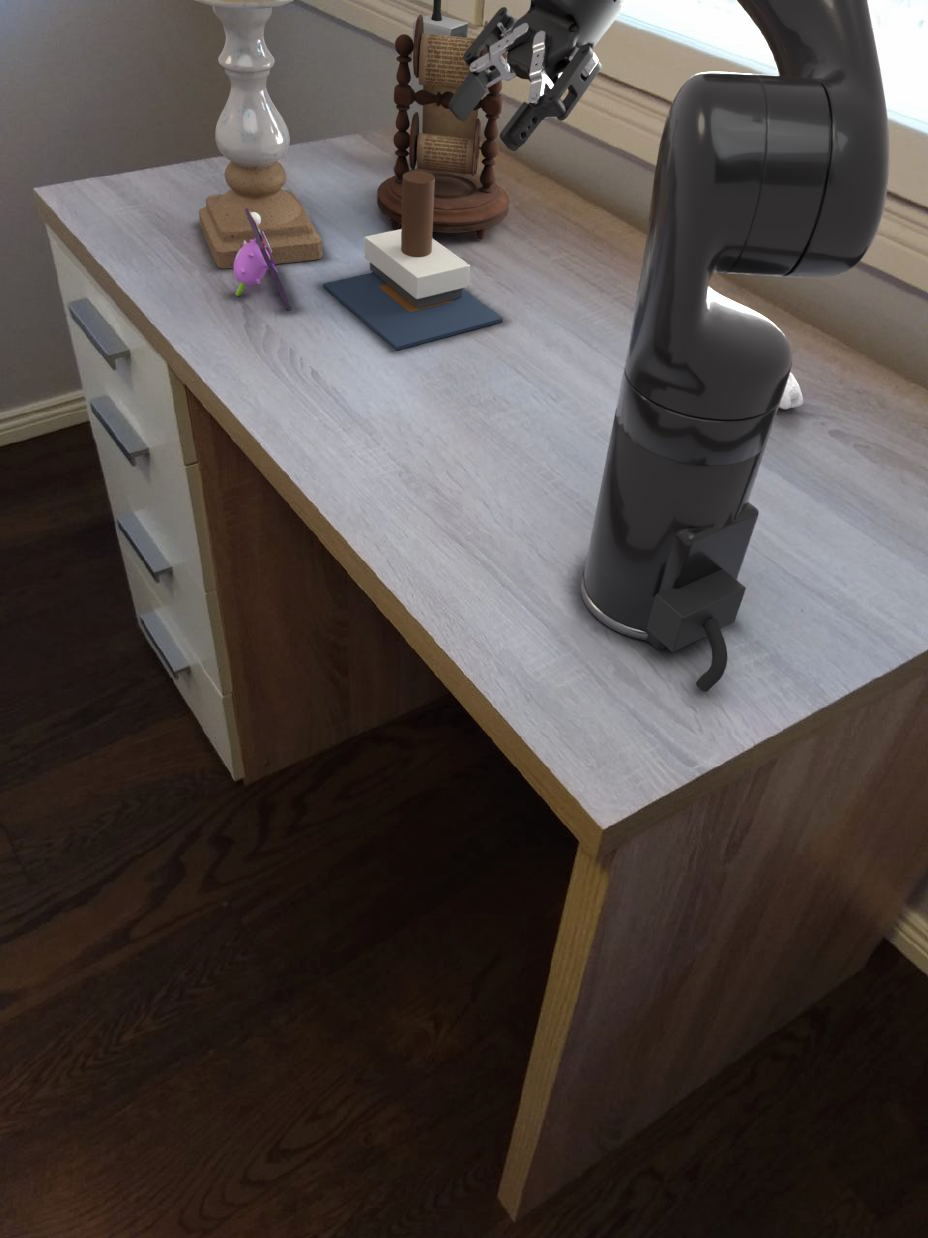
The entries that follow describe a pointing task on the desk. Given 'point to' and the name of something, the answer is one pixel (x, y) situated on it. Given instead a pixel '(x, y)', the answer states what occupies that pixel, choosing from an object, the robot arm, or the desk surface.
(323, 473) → the desk surface
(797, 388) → the white rounded piece
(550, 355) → the desk surface
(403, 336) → the mat
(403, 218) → the stamp
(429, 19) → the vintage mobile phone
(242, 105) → the candle holder
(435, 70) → the scroll
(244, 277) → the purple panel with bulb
